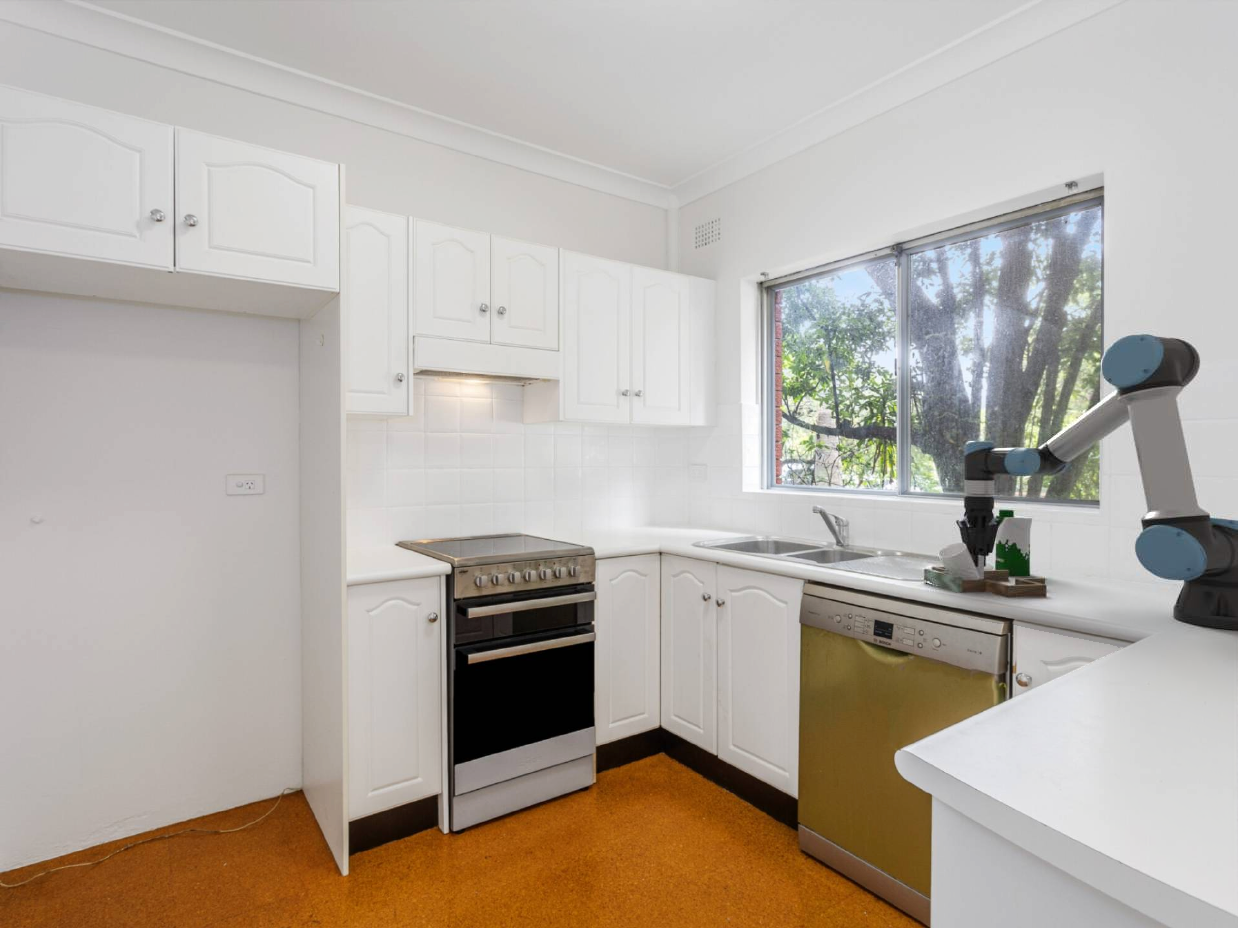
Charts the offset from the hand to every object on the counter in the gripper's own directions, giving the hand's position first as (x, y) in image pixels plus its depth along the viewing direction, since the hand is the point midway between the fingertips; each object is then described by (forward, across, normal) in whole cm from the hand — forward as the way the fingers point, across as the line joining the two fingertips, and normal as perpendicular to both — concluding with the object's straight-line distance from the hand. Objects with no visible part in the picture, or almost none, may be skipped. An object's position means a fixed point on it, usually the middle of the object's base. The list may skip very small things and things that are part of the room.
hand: (978, 578), depth 191 cm
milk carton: (+3, -25, -16) cm, 29 cm away
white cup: (+1, +4, 0) cm, 4 cm away
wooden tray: (+2, -2, 0) cm, 3 cm away
